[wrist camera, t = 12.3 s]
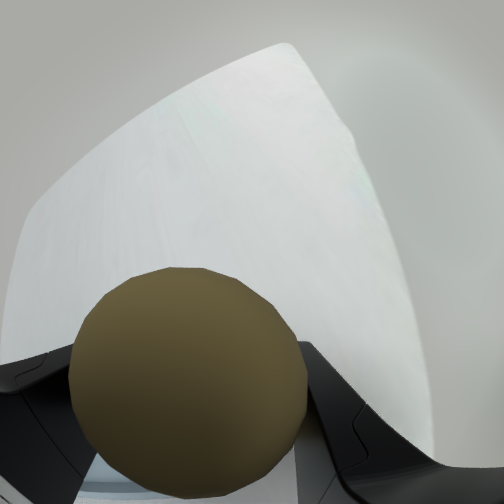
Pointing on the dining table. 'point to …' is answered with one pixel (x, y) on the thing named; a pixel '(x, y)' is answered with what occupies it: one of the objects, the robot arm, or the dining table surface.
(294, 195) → the dining table surface
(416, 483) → the robot arm
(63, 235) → the dining table surface
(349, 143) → the dining table surface
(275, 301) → the dining table surface
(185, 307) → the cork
